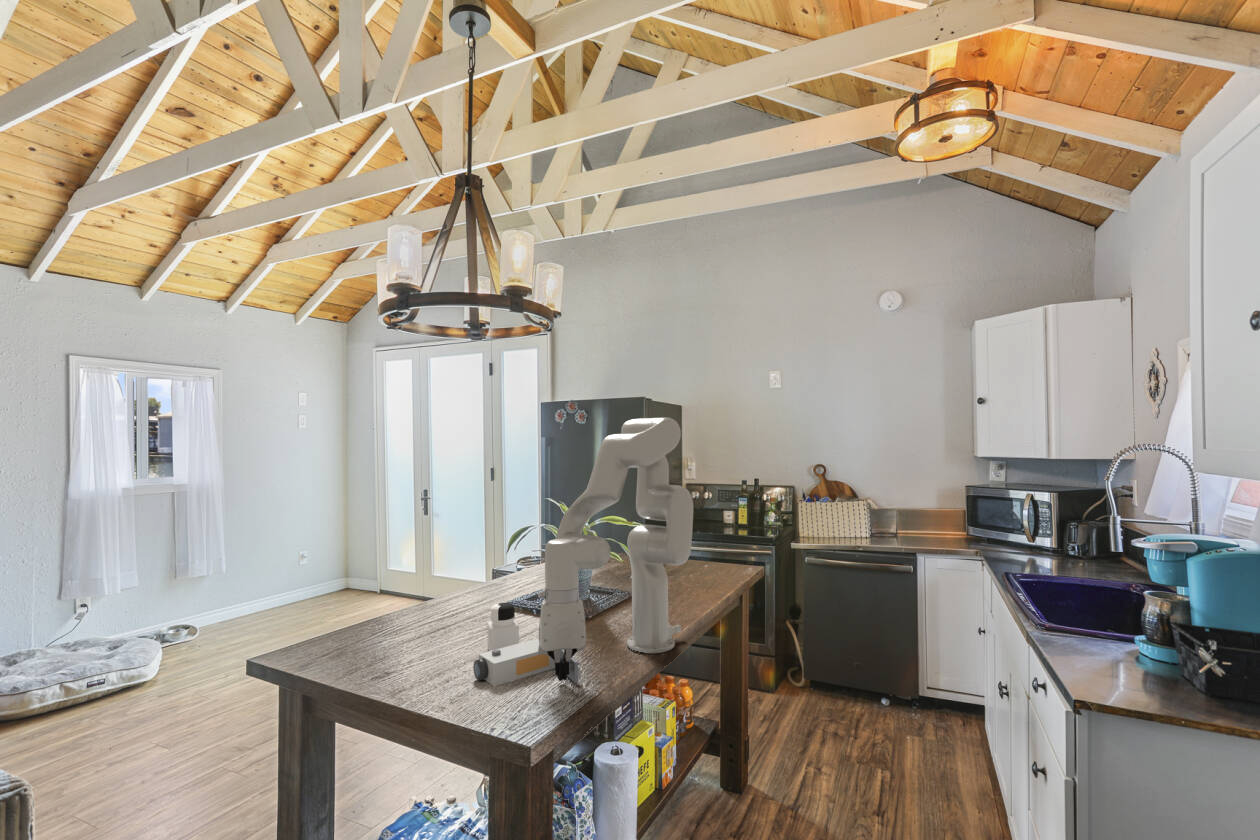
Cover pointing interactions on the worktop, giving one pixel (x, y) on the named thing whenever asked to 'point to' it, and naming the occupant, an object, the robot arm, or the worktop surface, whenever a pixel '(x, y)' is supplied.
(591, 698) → the worktop surface
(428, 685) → the worktop surface
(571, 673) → the side door
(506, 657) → the camera body
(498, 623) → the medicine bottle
